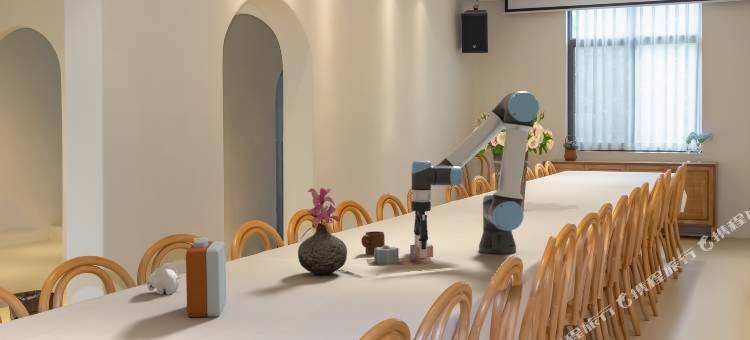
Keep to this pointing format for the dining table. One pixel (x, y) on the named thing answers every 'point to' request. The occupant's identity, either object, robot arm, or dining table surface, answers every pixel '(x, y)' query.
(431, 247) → the gear
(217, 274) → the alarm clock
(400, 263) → the gear board
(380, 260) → the gear
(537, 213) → the dining table surface
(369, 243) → the mug
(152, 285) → the elephant figurine
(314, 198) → the vase
